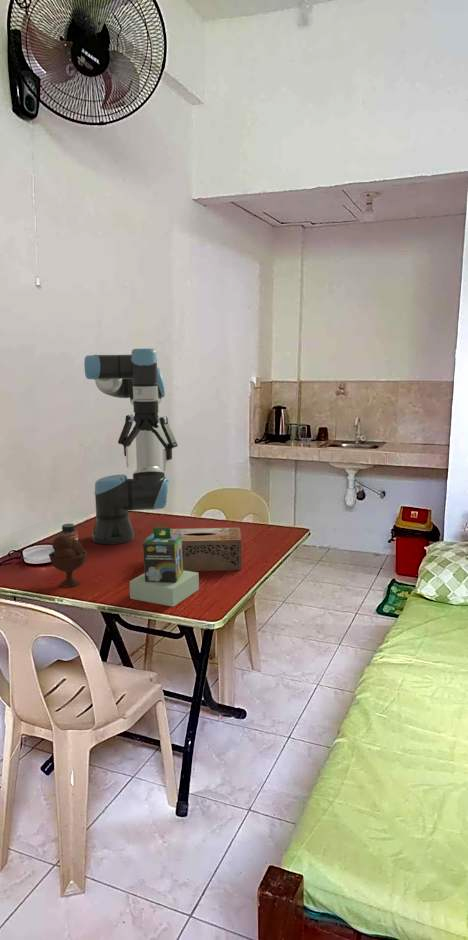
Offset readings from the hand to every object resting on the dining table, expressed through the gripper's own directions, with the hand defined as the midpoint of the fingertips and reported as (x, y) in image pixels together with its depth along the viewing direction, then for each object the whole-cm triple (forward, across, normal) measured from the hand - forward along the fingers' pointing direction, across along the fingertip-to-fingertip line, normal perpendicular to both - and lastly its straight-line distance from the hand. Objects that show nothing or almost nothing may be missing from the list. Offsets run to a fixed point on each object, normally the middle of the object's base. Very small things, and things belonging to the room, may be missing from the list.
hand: (148, 468), depth 197 cm
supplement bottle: (+32, -30, -4) cm, 44 cm away
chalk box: (+26, +17, -19) cm, 37 cm away
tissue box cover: (+32, +14, +8) cm, 36 cm away
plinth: (+31, +17, -20) cm, 41 cm away
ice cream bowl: (+32, -13, -24) cm, 42 cm away
